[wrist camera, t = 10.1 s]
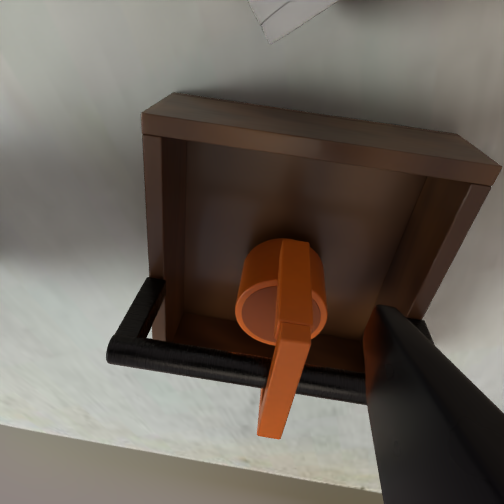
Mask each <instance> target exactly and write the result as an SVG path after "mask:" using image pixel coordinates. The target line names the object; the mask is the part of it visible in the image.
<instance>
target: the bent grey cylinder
mask: <svg viewBox="0 0 504 504" xmlns="http://www.w3.org/2000/svg"><path fill="white" fill-rule="evenodd" d="M247 1H248V3H249V5H250V7H251V9H252V11H253V13H254V15H255V17H256V19H257V20H258V22H259V24H260V25H262V26H263V28H262V30H263V32H264V34H265V36H266V38H267V40H268V42H269V44H273V43H274V42H276V41H278V40H279V39H281V38H283V37H284V36H286V35H287V34H289V33H290V32H292V31H293V30H295V29H297V28H298V27H300V26H301V25H303V24H304V23H306V22H307V21H309V20H310V19H312V18H313V17H315V16H316V15H318V14H319V13H321V12H322V11H324V10H325V9H327V8H328V7H330V6H331V5H333V4H334V3H336V2H337V1H339V0H247Z"/></svg>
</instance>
